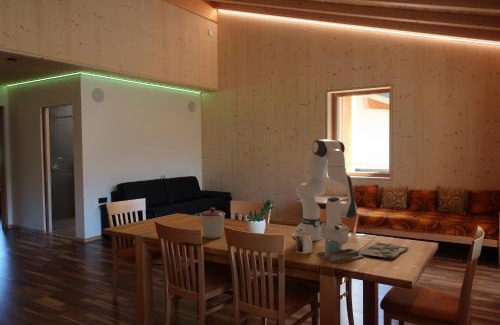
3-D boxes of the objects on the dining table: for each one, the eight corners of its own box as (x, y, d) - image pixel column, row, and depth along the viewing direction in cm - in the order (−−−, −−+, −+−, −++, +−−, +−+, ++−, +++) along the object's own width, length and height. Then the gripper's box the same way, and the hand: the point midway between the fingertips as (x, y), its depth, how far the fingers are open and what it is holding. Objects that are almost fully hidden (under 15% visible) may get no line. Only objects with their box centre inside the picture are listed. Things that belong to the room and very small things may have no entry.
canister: (200, 240, 268) (199, 210, 266) (199, 234, 285) (199, 205, 284) (226, 239, 270) (226, 209, 269) (224, 233, 288) (224, 204, 287)
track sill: (320, 258, 224) (320, 252, 224) (345, 252, 235) (345, 246, 235) (338, 264, 212) (338, 257, 212) (363, 257, 223) (363, 251, 223)
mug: (314, 249, 242) (314, 231, 241) (312, 255, 230) (312, 236, 230) (297, 248, 245) (297, 231, 244) (294, 254, 233) (294, 235, 232)
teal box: (325, 253, 234) (325, 241, 233) (337, 250, 239) (337, 239, 239) (328, 254, 231) (328, 242, 231) (341, 251, 237) (341, 240, 236)
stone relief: (409, 249, 240) (377, 244, 253) (409, 245, 240) (377, 239, 252) (390, 263, 215) (356, 256, 228) (391, 258, 215) (356, 251, 227)
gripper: (317, 222, 241) (317, 245, 242) (342, 228, 224) (342, 252, 225) (325, 221, 245) (325, 243, 245) (350, 227, 228) (350, 250, 228)
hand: (333, 247), depth 235 cm, fingers open, 8 cm apart
